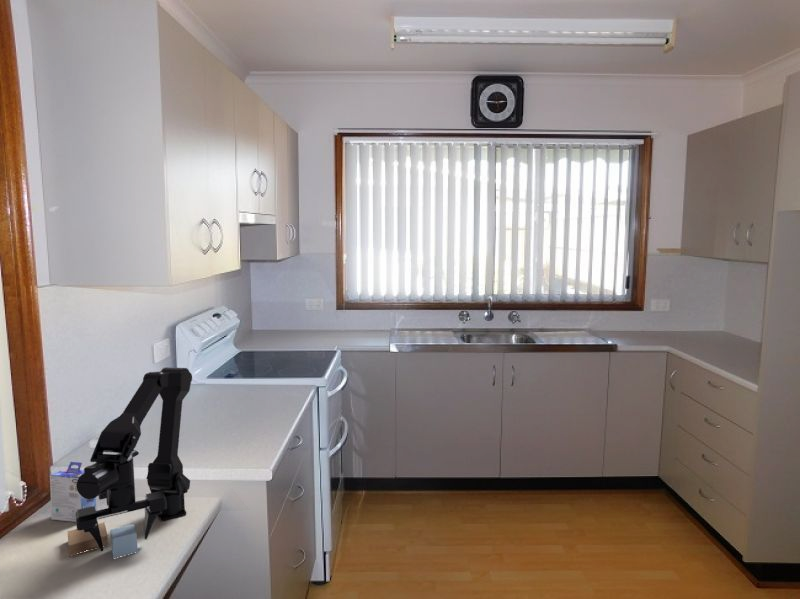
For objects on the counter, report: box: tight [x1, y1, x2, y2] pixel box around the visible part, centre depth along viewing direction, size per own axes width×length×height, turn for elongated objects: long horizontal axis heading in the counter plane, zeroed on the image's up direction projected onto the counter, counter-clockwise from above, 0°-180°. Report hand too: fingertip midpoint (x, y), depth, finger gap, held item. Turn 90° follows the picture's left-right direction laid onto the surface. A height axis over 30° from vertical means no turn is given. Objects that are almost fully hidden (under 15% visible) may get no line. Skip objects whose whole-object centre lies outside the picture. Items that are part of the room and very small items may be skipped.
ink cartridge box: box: [49, 461, 97, 523], centre depth 146 cm, size 10×6×14 cm, turn 78°
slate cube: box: [110, 523, 139, 559], centre depth 129 cm, size 5×5×5 cm
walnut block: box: [67, 521, 109, 557], centre depth 133 cm, size 8×8×3 cm
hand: (124, 544), depth 129 cm, fingers open, 9 cm apart
